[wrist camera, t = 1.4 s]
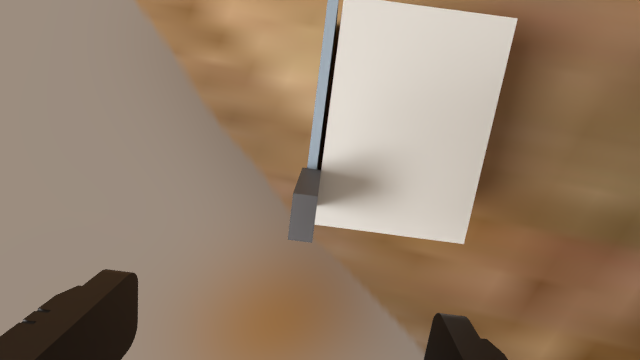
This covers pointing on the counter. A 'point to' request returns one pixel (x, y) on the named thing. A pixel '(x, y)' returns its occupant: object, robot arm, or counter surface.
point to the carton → (410, 117)
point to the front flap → (314, 142)
